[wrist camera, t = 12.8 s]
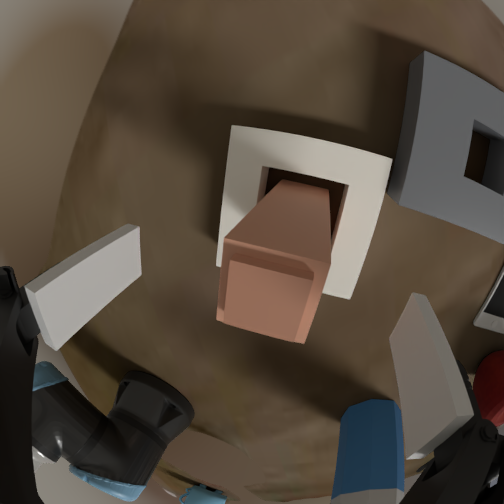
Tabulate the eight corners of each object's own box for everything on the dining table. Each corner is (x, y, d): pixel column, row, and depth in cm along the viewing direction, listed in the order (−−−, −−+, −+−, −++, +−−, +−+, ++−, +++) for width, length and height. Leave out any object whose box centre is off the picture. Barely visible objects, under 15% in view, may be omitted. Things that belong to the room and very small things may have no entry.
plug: (274, 222, 24) (211, 328, 11) (282, 179, 22) (217, 243, 10) (318, 233, 23) (302, 353, 11) (328, 189, 22) (331, 271, 9)
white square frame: (227, 252, 27) (216, 265, 24) (243, 126, 21) (231, 125, 19) (348, 281, 25) (349, 299, 22) (384, 156, 19) (392, 159, 17)
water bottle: (338, 402, 32) (309, 570, 10) (403, 393, 29) (402, 563, 7) (342, 431, 35) (318, 567, 13) (398, 424, 32) (391, 562, 10)
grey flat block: (387, 193, 20) (398, 204, 17) (409, 63, 15) (424, 50, 12) (500, 235, 18) (520, 252, 14) (524, 125, 13) (547, 127, 9)
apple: (525, 340, 20) (550, 389, 12) (487, 386, 25) (502, 435, 16) (493, 329, 22) (522, 387, 13) (451, 381, 26) (466, 439, 17)
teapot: (186, 482, 77) (174, 506, 64) (189, 478, 71) (176, 505, 59) (235, 500, 75) (226, 524, 62) (243, 497, 69) (233, 525, 57)
